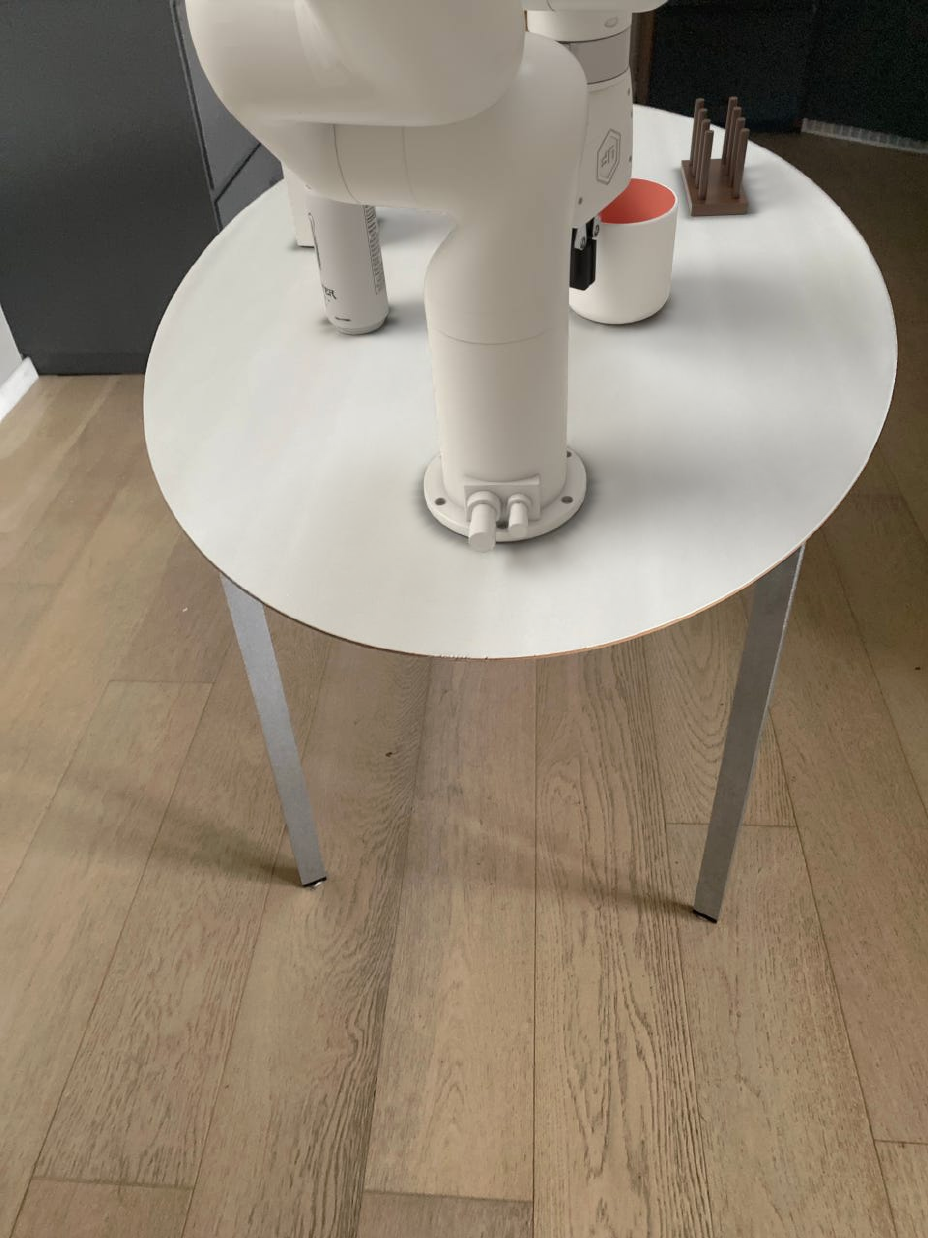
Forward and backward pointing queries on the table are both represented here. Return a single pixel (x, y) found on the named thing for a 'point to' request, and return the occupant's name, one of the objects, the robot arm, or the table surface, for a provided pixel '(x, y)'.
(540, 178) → the robot arm
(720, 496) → the table surface
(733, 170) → the dish rack
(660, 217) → the cup
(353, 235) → the energy drink can
